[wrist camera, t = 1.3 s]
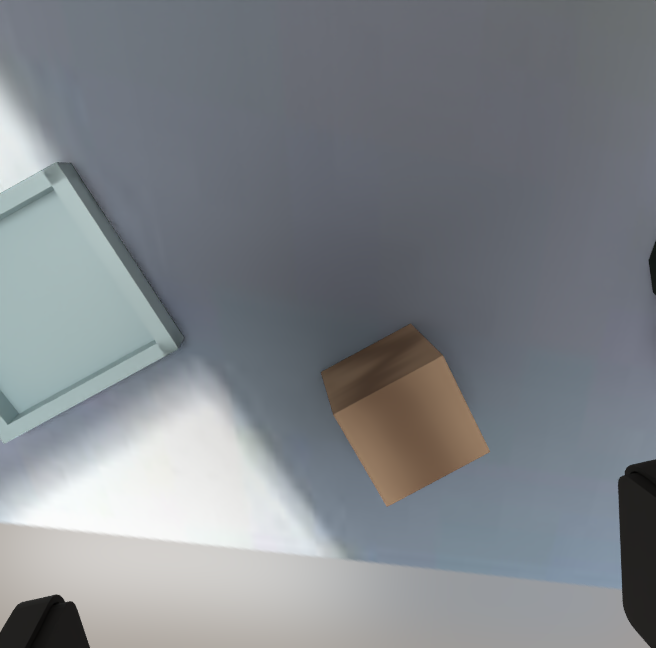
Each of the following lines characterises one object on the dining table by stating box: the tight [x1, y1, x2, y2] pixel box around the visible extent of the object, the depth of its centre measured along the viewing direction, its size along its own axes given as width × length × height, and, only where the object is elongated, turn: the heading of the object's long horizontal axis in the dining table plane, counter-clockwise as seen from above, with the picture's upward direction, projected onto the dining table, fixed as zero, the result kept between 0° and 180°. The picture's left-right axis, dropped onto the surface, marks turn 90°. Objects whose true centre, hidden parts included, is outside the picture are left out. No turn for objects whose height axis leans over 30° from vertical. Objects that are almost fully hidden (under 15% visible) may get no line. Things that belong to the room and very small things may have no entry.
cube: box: [321, 324, 490, 507], centre depth 30 cm, size 6×6×6 cm
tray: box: [0, 162, 184, 444], centre depth 28 cm, size 11×11×2 cm
